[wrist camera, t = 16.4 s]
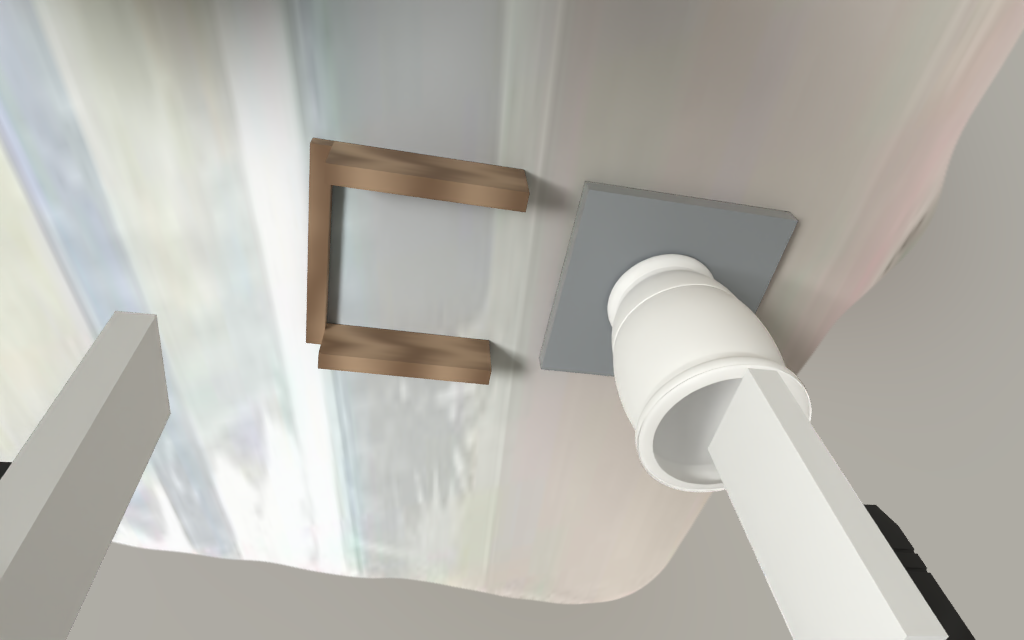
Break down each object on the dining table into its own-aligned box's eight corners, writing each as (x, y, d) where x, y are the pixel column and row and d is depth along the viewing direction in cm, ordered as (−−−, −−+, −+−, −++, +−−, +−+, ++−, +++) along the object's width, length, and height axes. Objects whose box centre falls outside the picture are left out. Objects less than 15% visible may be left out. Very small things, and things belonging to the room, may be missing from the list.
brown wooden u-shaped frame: (308, 335, 53) (298, 366, 50) (312, 137, 44) (301, 159, 41) (486, 353, 56) (488, 384, 52) (524, 169, 47) (529, 192, 43)
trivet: (539, 358, 56) (541, 369, 55) (585, 181, 48) (588, 189, 46) (715, 376, 59) (721, 387, 58) (789, 212, 50) (798, 220, 49)
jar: (632, 372, 56) (683, 516, 44) (568, 288, 51) (605, 425, 38) (748, 309, 53) (838, 443, 41) (693, 213, 48) (776, 333, 36)
